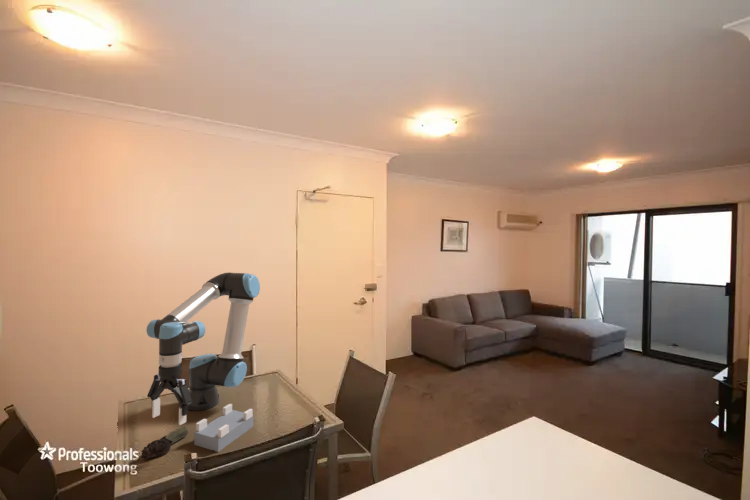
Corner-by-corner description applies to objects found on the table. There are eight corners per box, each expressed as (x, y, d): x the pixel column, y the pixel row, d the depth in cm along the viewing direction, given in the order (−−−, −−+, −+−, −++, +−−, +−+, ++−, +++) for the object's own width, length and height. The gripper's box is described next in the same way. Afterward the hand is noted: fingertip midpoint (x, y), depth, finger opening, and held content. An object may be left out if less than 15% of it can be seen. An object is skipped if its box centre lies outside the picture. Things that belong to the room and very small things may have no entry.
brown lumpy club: (178, 435, 145) (178, 421, 145) (191, 438, 143) (191, 425, 143) (138, 460, 128) (138, 445, 128) (152, 464, 126) (152, 449, 126)
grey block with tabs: (193, 444, 138) (194, 424, 138) (230, 420, 157) (231, 402, 157) (218, 452, 134) (219, 431, 134) (253, 426, 153) (254, 408, 153)
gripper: (137, 362, 134) (136, 417, 135) (186, 372, 126) (185, 431, 126) (155, 356, 141) (154, 409, 142) (203, 366, 133) (202, 421, 133)
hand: (169, 419), depth 134 cm, fingers open, 13 cm apart
